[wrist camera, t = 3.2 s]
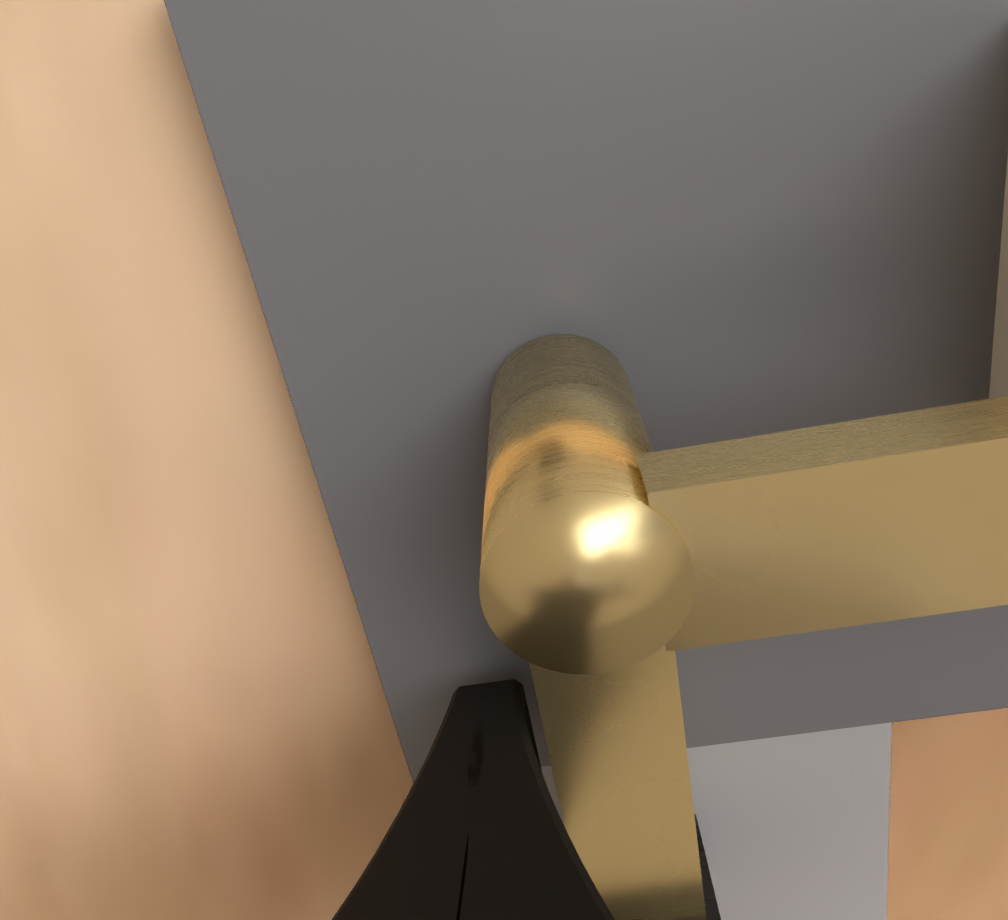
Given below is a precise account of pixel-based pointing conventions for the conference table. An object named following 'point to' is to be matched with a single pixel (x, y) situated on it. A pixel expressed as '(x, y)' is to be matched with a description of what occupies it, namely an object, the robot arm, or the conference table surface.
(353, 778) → the conference table surface
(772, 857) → the felt pad
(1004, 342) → the cream foam cube
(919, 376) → the base plate
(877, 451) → the l-shaped bracket
